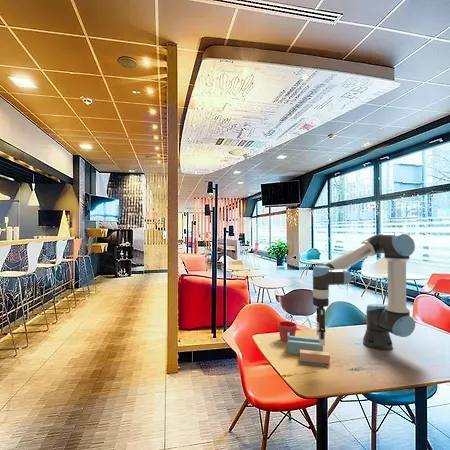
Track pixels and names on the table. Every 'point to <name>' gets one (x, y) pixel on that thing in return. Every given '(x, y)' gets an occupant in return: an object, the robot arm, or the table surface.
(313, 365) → the mat
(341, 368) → the table surface
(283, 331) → the flower pot
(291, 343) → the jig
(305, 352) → the bar
